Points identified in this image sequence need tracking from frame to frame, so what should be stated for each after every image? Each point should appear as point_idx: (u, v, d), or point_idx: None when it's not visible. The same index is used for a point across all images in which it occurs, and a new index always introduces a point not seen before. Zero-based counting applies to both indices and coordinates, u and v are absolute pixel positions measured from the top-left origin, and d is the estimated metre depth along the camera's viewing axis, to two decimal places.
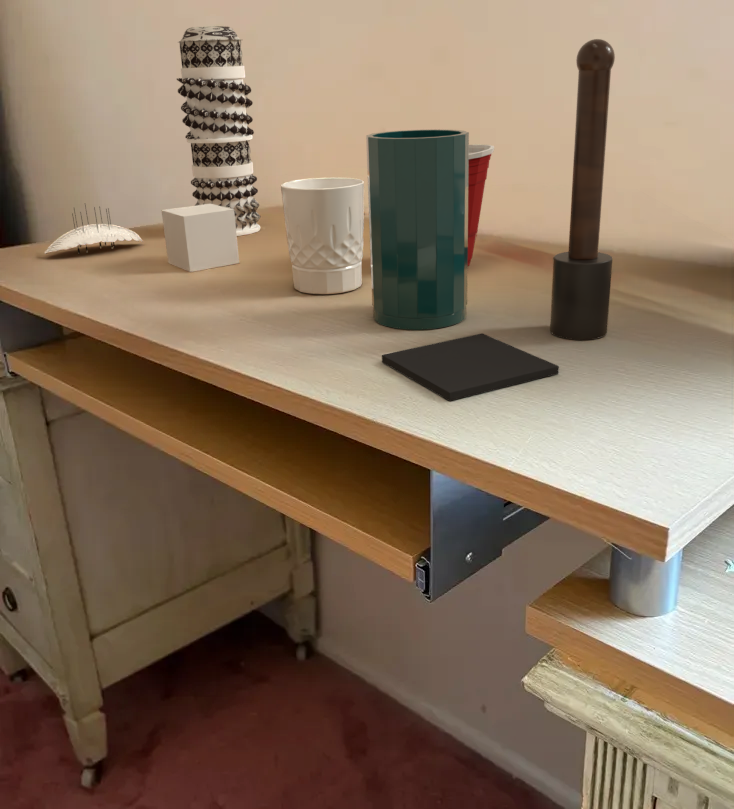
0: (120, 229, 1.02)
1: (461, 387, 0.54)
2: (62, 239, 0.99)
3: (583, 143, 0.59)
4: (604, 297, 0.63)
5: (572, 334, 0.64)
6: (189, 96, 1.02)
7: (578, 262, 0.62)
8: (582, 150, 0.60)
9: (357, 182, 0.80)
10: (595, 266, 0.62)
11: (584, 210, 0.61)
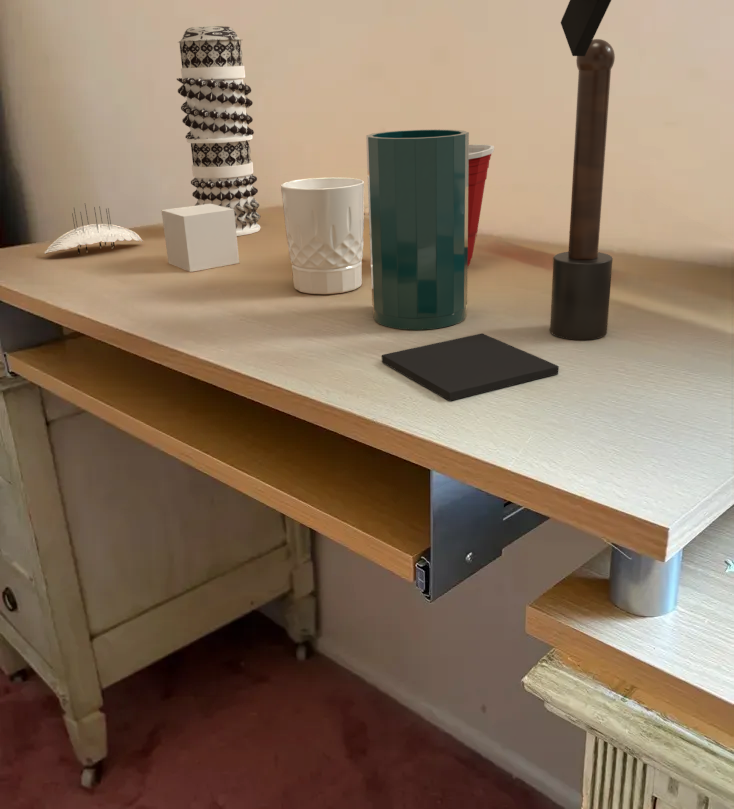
0: (120, 229, 1.02)
1: (461, 387, 0.54)
2: (62, 239, 0.99)
3: (583, 143, 0.59)
4: (604, 297, 0.63)
5: (572, 334, 0.64)
6: (189, 96, 1.02)
7: (578, 262, 0.62)
8: (582, 150, 0.60)
9: (357, 182, 0.80)
10: (595, 266, 0.62)
11: (584, 210, 0.61)
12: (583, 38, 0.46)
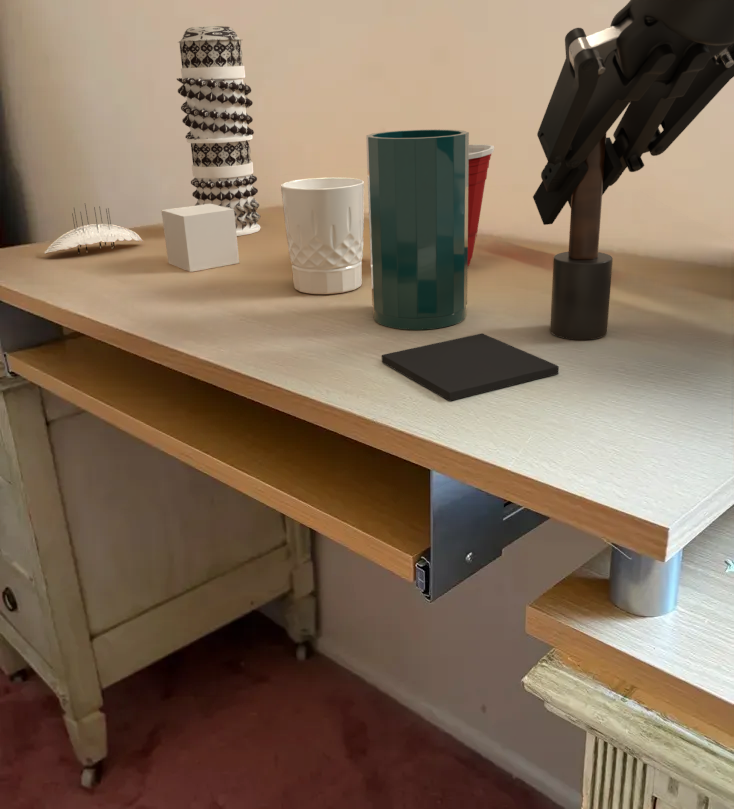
0: (120, 229, 1.02)
1: (461, 387, 0.54)
2: (62, 239, 0.99)
3: None
4: (604, 297, 0.63)
5: (572, 334, 0.64)
6: (189, 96, 1.02)
7: (578, 262, 0.62)
8: None
9: (357, 182, 0.80)
10: (595, 266, 0.62)
11: (584, 210, 0.61)
12: (552, 215, 0.64)
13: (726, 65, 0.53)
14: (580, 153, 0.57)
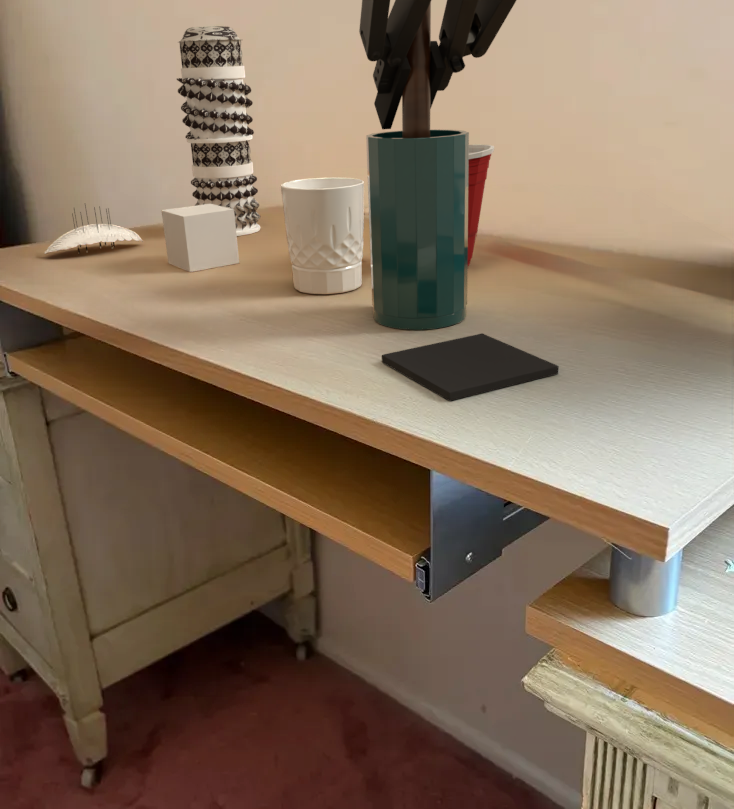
0: (120, 229, 1.02)
1: (461, 387, 0.54)
2: (62, 239, 0.99)
3: None
4: None
5: None
6: (189, 96, 1.02)
7: None
8: None
9: (357, 182, 0.80)
10: None
11: (412, 111, 0.64)
12: (387, 118, 0.67)
13: None
14: (398, 50, 0.60)
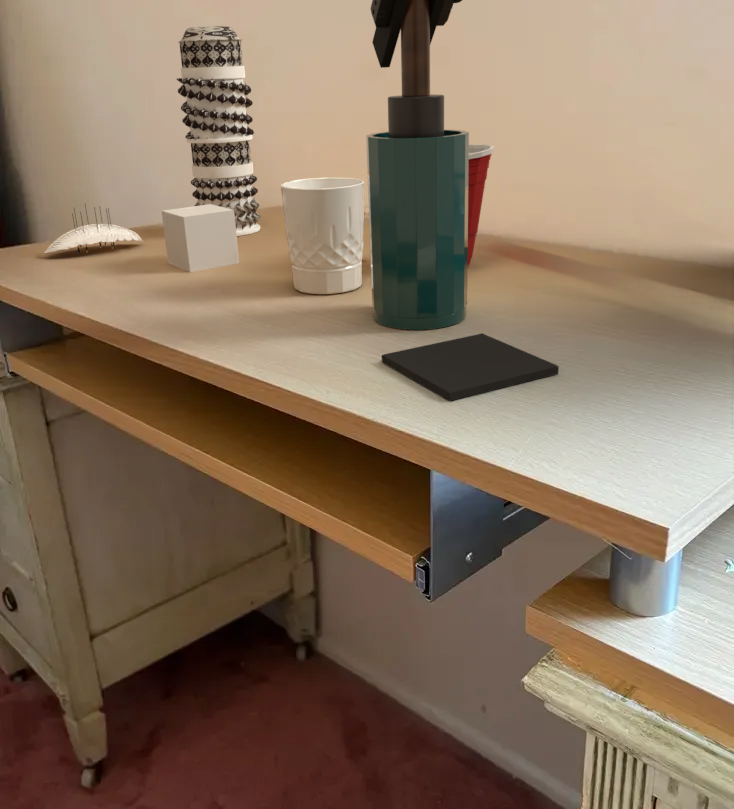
0: (120, 229, 1.02)
1: (461, 387, 0.54)
2: (62, 239, 0.99)
3: None
4: (435, 135, 0.64)
5: None
6: (189, 96, 1.02)
7: (407, 97, 0.63)
8: None
9: (357, 182, 0.80)
10: (423, 100, 0.63)
11: (411, 44, 0.62)
12: (386, 55, 0.65)
13: None
14: None
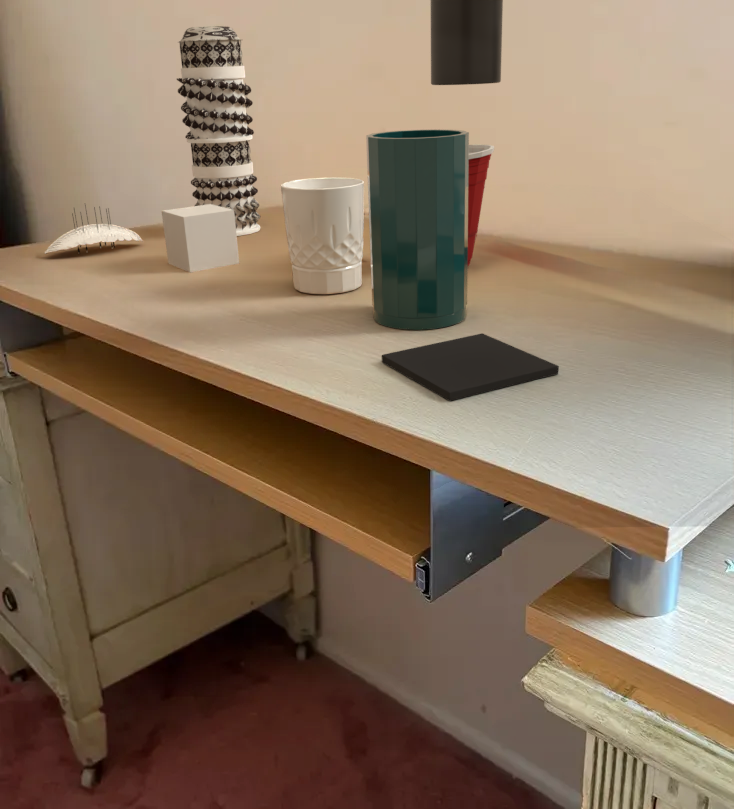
0: (120, 229, 1.02)
1: (461, 387, 0.54)
2: (62, 239, 0.99)
3: None
4: (492, 27, 0.50)
5: (454, 77, 0.51)
6: (189, 96, 1.02)
7: None
8: None
9: (357, 182, 0.80)
10: None
11: None
12: None
13: None
14: None
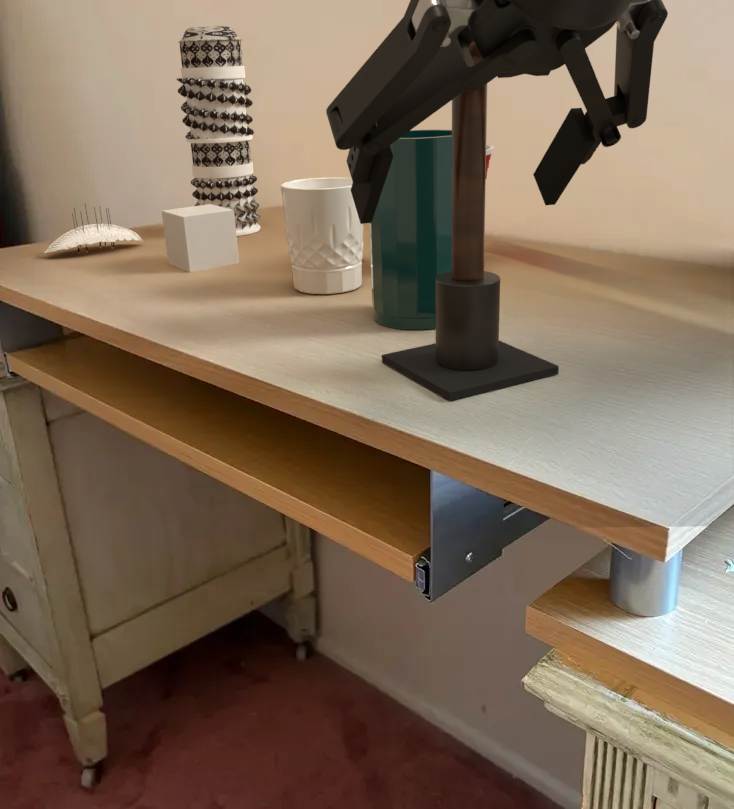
0: (120, 229, 1.02)
1: (461, 387, 0.54)
2: (62, 239, 0.99)
3: (459, 150, 0.52)
4: (490, 323, 0.56)
5: (456, 364, 0.57)
6: (189, 96, 1.02)
7: (459, 283, 0.55)
8: (458, 158, 0.53)
9: None
10: (478, 288, 0.55)
11: (464, 226, 0.54)
12: (367, 212, 0.53)
13: (631, 38, 0.45)
14: (385, 137, 0.47)
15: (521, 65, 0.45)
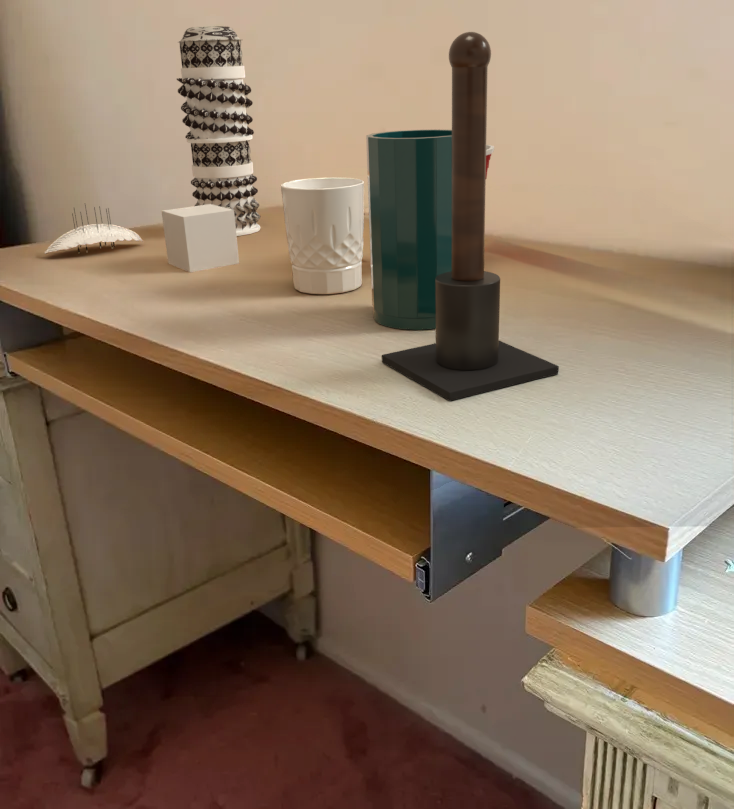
0: (120, 229, 1.02)
1: (461, 387, 0.54)
2: (62, 239, 0.99)
3: (459, 150, 0.52)
4: (490, 323, 0.56)
5: (456, 364, 0.57)
6: (189, 96, 1.02)
7: (459, 283, 0.55)
8: (458, 158, 0.53)
9: (357, 182, 0.80)
10: (478, 288, 0.55)
11: (464, 226, 0.54)
12: None
13: None
14: None
15: None
